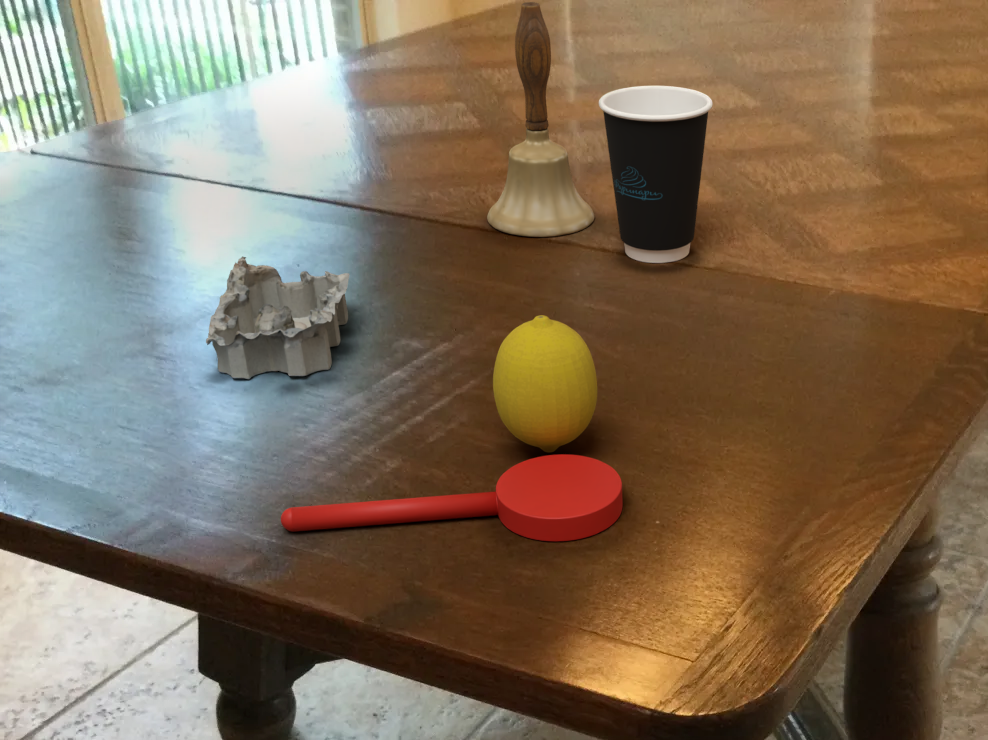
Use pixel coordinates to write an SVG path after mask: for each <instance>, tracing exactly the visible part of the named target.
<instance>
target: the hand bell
mask: <svg viewBox="0 0 988 740" xmlns="http://www.w3.org/2000/svg"><path fill="white" fill-rule="evenodd" d="M551 46H552V45H551V39H550V33H549V30H548V27H547V24H546V21H545V19H544V16H543V13H542V9H541V5H540V3H538V2H535V1H527V2H525V1H524V2H523V3H521V5H520V14H519V17H518V21H517V25H516V30H515V36H514V51H515V52H514V54H515V55H514V56H515V61H516V67H517V72H518V75H519V78H520V81H521V84H522V87H523V91H524V101H525V102H524V105H525V106H524V107H525V123H524V124H525V125H524V126H525V128H526V129H525V140H523V141H522V142H520V143H518V144H515V145H513V146H512V147H511V148H510V150H509V152H508V164H507V173H506V178H505V179H506V180H505V183H504V187H503V190H502V193H501V194H500V196H499V198H498V200H497V201H496V202H495V203H494V204H492V206H491V207H490V208H489V211H488V213H487V215H486V220H487V222H488V224H489V225H490V226H491V227H493V228H494V229H496V230H498V231H500V232H503V233H505V234H509V235H515V236H520V237H521V236H522V237H528V238H531V237H532V238H551V237H559V236H565V235H570V234H574V233H578V232H581V231H583V230H584V229H586V228H588V227H589V226H591V225H592V223H593V222H594V221H595V213H594V211H593V208H592V207H591V206H590V204H589V203H587V201H585V200H584V199H583V198H582V196H581V195H580V193H579V192H578V190H577V187H576V185H575V183H574V180H573V176H572V173H571V168H570V162H569V153H568V151H567V149H566V148H565V147H564V146H563V145H561V144H559V143H557V142H554V141H552V140H551V138H550V132H549V127H550V125H549V120H548V107H547V87H548V82H549V78H550V73H551V65H552V47H551Z"/></svg>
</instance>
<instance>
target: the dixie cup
mask: <svg viewBox="0 0 988 740" xmlns="http://www.w3.org/2000/svg"><path fill="white" fill-rule="evenodd" d="M598 106H599V108H600V109H601V110H602V113H603V119H604V127H605V134H606V142H607V148H608V158H609V164H610V170H611V178H612V179H611V180H612V184H613V194H614V201H615V209H616V215H617V222H618V230H619V237H620V240H621V241H622V242H623V246H624V252H625V255H626V256H627V257H628V258H631V259H632V260H634V261H635V260H636V261H637V262H642V263H651V264H664V263H665V264H666V263H672V262H677V261H680V260H682V259H684V258H686V257H687V256H688V255H689V254H690V249H691V243H692V241H693V240H694V238H695V231H696V223H697V214H698V205H699V204H698V203H699V196H700V189H701V188H700V187H701V179H702V171H703V162H704V161H703V160H704V152H705V145H706V136H707V126H708V118H709V111H710V110H711V109H712V108H713V100H712V98H711V97H710V96H709V95H708V94H706V93H704V92H701V91H698V90H695V89H692V88H688V87H687V88H686V87H682V86H681V87H680V86H672V85H671V86H670V85H636V86H630V87H622V88H619V89H615V90H611V91H609V92H606V93H605V94H603V95H602V96H601V97H600V98H599V100H598Z"/></svg>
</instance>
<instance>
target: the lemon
mask: <svg viewBox="0 0 988 740" xmlns="http://www.w3.org/2000/svg"><path fill="white" fill-rule="evenodd" d="M492 373H493V375H492V391H493V397H494V402H495V406H496V410H497V413H498V416H499V418H500V420H501V422H502V424H503V425H504V426H505V427H506V429H507V430H508V431H509V433H511V434H512V435H513V437H515V438H517V439H518V440H519V441H521V442H522V443H525V444H527V445H529V446H532V447H536V448H539V449H541V451H543V452H545V453H554V452H555V451H556V450H558V448H559V447H561V446H564V445H567V444H569V443H571V442H572V441H574V440H576V439H577V438H578V437H579V436H580V435H582V434H583V432H584V431H585V430H586V429H587V428H588V426H589V425H590V423H591V420H592V418H593V416H594V413H595V410H596V408H597V402H598V379H597V372H596V366H595V362H594V359H593V355H592V353H591V351H590V349H589V346H588V345H587V343H586V342H585V340H584V338H582V336H581V335H580V334H579V333H578V332H577V331H576V330H575V329H573V328H572V327H570V326H569V325H567V324H565V323H563V322H561V321H558V320H555V319H550V317H549V316H547V315H542V314H541V315H536V316H534V318H533V319H532V320H528V321H526V322H523V323H521V324H520V325H519V326H517V327H515V328H514V329H513V330H511V331H510V332H509V333H508V334H507V336H506V337H505V338H504V339H503V341H502V342H501V344H500V347H499V349H498V351H497V354H496V358H495V362H494V367H493V372H492Z"/></svg>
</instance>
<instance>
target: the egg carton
mask: <svg viewBox="0 0 988 740" xmlns="http://www.w3.org/2000/svg"><path fill="white" fill-rule="evenodd" d="M246 259H247V257H246V256H241V257H240V258H238V260H237V262H236V261H235V262H234V264H233V267H232V269H230V272H229V275H228V278H227V280H226V290H225V292H224V293H223V294H222V295H220V297H219V303H218V305H217V307H216V309H215V311H214V313H213V314H212V315H211V316H210V319H209V320H210V321H209V326H208V333H207V338H206V340H205V344H206V345H207V346H208V345H209V346H210V344H212V347H213V349H214V351H215V352H216V359H217V370H218V372H219V373H223V374H227V375H229V376H230V377H231V378H232V379H246V380H250V379H251V378H252V377H254V376H256V375H259V374H264V373H266V372H278V371H279V372H281V373H285V374H288V377H305V376H308V375H310V374H313V373H316V372H319V371H327V370H330V369H331V366H332V363H333V361H332V353H331V347H338V346H339V345H340V343H341V332H340V326H344V325H347V323H348V321H349V311H348V305H347V299H346V292H347V290H348V285H349V280H350V275H351V274H350V273H349V272H344V273H341V274H334V273H332V272H329V271H328V270H326V271H324V273H325V274H324V275H321V276H319V275H317V276H316V275H312V274H310V273H309V272H308V271H307V270H304V271H301V272H300V274H299V277H300V281H289V282H283V281H282V276H281V274H280V273H279V271H278V269H277V268H275V267H274V266H270V265H264V264H262V265H261V264H260V265H257V266H256V265H254V264H251V263H250V264H249V263H248V262H247V260H246Z"/></svg>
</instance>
